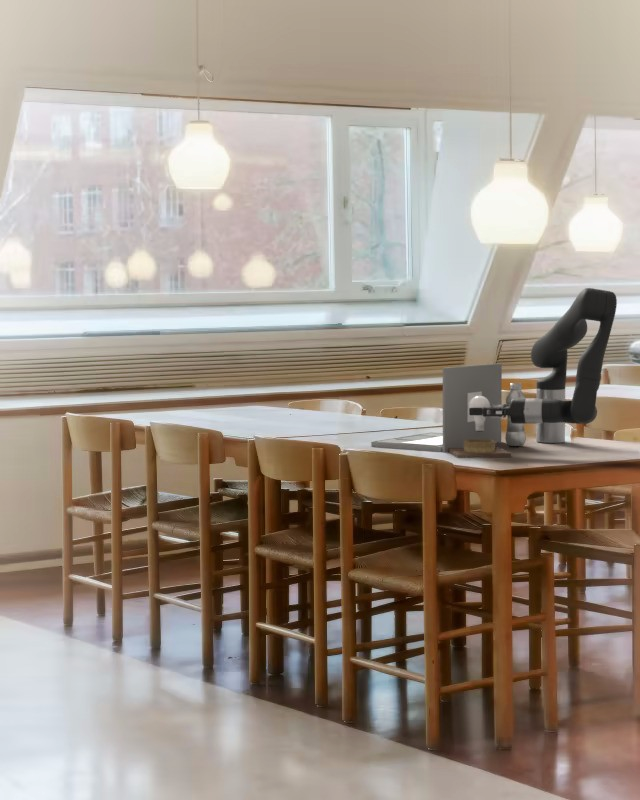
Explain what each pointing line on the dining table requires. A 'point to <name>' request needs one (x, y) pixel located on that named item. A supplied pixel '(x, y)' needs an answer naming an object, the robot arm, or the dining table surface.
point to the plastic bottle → (514, 431)
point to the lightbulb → (479, 403)
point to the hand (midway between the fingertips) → (471, 410)
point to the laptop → (459, 410)
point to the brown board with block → (479, 449)
